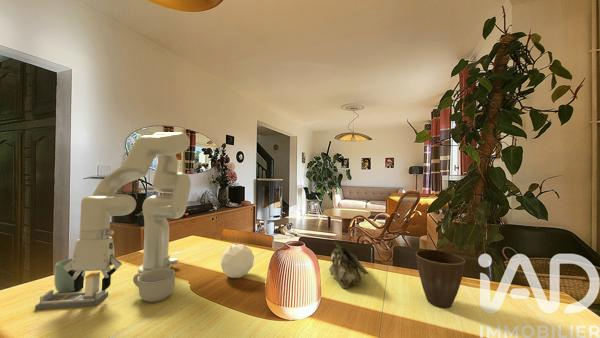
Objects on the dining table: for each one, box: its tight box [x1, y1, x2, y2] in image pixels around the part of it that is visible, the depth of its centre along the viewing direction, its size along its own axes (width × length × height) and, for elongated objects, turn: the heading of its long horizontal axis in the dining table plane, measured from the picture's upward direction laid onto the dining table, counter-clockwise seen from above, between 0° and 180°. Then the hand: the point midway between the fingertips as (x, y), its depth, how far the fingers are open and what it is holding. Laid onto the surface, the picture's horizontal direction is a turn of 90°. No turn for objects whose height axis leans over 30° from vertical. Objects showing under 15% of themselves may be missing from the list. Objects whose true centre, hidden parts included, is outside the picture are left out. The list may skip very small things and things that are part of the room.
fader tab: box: [83, 271, 101, 299], centre depth 82 cm, size 3×4×7 cm
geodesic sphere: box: [220, 242, 255, 279], centre depth 104 cm, size 14×14×14 cm
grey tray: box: [34, 288, 109, 311], centre depth 81 cm, size 16×7×3 cm, turn 102°
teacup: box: [132, 268, 176, 303], centre depth 85 cm, size 14×11×8 cm
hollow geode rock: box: [329, 240, 369, 289], centre depth 108 cm, size 28×13×15 cm
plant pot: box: [415, 249, 466, 309], centre depth 87 cm, size 15×15×16 cm
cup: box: [53, 258, 86, 293], centre depth 88 cm, size 8×8×10 cm
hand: (92, 289), depth 82 cm, fingers open, 6 cm apart
